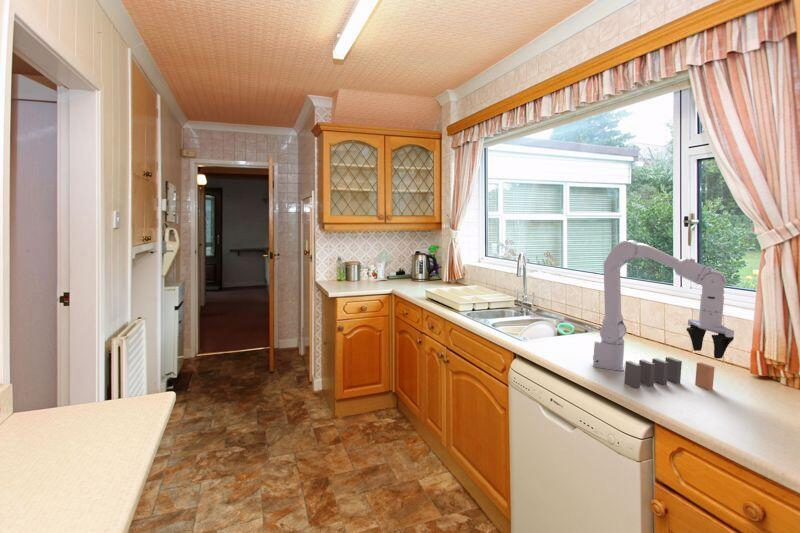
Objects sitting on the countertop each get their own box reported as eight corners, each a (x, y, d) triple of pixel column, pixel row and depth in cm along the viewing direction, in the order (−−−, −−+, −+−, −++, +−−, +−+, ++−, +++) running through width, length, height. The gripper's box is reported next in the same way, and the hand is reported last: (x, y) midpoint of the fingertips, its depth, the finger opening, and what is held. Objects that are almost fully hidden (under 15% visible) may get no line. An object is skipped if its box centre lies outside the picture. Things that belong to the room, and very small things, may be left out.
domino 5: (708, 389, 131) (710, 367, 130) (695, 384, 135) (696, 362, 135) (712, 389, 132) (714, 366, 131) (699, 384, 136) (700, 362, 135)
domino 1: (635, 388, 132) (636, 365, 131) (624, 383, 136) (625, 361, 136) (639, 387, 132) (641, 365, 132) (628, 382, 137) (629, 360, 136)
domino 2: (649, 386, 133) (650, 364, 133) (638, 381, 138) (639, 359, 137) (653, 386, 134) (655, 363, 133) (642, 381, 138) (643, 359, 137)
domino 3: (662, 384, 135) (664, 362, 134) (651, 379, 139) (652, 358, 138) (666, 384, 135) (668, 362, 135) (655, 379, 140) (656, 358, 139)
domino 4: (676, 383, 136) (677, 361, 136) (664, 378, 140) (665, 357, 140) (680, 382, 137) (681, 361, 136) (668, 378, 141) (669, 356, 140)
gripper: (744, 315, 126) (740, 361, 127) (702, 305, 140) (699, 346, 141) (723, 315, 125) (719, 362, 126) (683, 306, 139) (680, 347, 140)
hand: (707, 354), depth 134 cm, fingers open, 7 cm apart
